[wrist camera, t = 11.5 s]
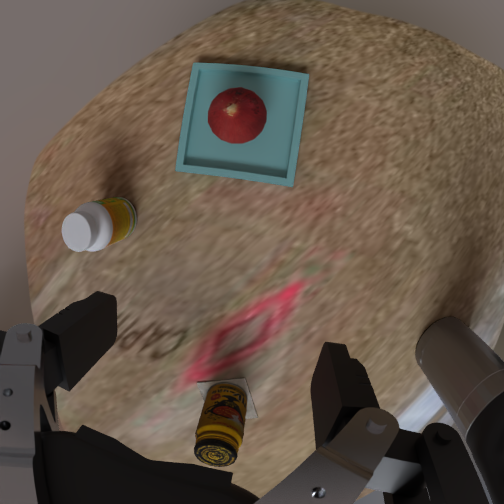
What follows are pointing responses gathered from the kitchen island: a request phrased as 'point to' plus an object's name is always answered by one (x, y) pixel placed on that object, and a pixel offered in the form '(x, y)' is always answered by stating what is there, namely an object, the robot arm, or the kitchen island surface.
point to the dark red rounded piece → (237, 115)
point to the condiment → (222, 420)
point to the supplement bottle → (99, 224)
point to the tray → (255, 151)
